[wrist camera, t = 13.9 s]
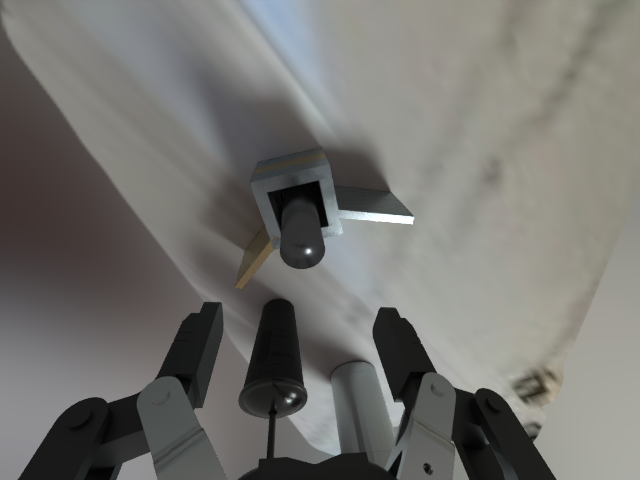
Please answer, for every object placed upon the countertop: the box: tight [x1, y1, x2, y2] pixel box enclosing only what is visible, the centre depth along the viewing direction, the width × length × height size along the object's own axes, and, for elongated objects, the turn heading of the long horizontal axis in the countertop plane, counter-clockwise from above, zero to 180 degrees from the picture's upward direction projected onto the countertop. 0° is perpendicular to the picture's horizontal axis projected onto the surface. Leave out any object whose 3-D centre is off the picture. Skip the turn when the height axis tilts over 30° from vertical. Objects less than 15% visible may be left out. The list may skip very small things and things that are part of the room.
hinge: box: [235, 147, 415, 290], centre depth 28 cm, size 11×20×7 cm, turn 102°
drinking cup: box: [238, 299, 307, 458], centre depth 32 cm, size 8×8×20 cm
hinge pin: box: [280, 182, 325, 269], centre depth 24 cm, size 3×3×14 cm
